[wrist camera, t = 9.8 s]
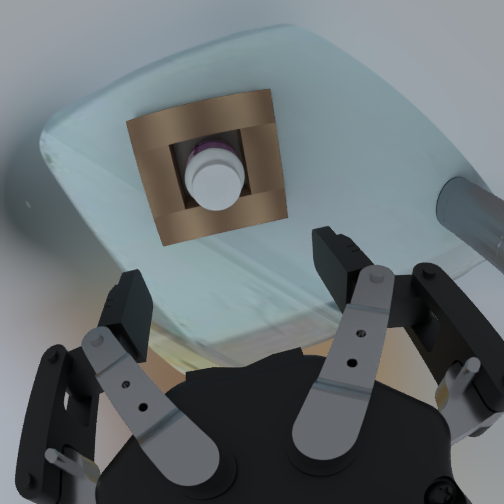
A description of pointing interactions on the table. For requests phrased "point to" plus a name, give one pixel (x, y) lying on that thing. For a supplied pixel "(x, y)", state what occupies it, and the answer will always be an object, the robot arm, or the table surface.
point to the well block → (177, 152)
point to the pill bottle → (214, 174)
